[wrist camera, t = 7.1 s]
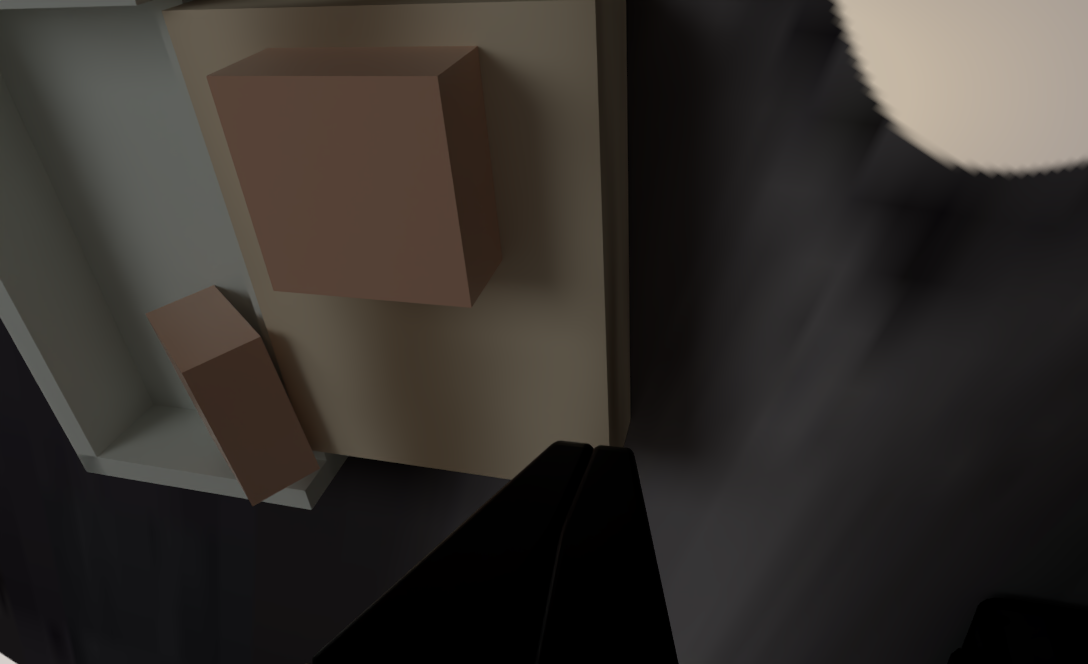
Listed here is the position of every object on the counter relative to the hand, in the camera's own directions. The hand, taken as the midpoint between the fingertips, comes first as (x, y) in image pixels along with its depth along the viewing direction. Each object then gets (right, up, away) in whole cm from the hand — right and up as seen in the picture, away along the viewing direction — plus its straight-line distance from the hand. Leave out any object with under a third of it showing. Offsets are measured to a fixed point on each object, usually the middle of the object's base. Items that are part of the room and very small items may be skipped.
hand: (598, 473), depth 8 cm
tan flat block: (-3, +4, +12) cm, 13 cm away
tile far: (-9, 0, +14) cm, 16 cm away
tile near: (-4, +5, +8) cm, 10 cm away
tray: (-11, +5, +14) cm, 19 cm away
